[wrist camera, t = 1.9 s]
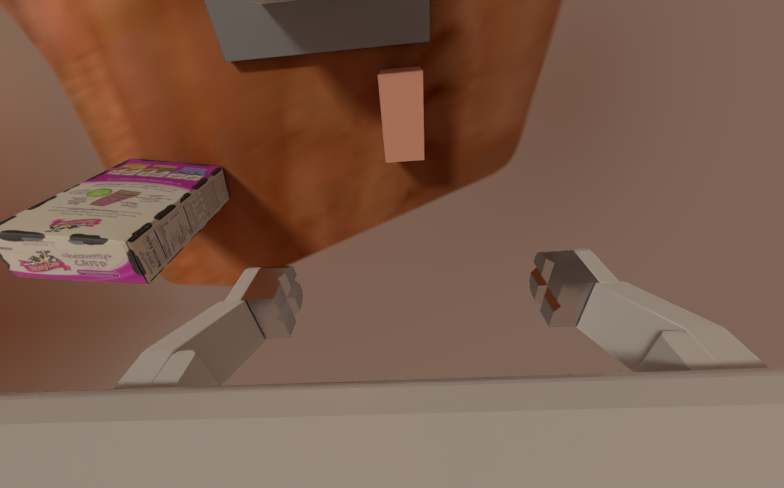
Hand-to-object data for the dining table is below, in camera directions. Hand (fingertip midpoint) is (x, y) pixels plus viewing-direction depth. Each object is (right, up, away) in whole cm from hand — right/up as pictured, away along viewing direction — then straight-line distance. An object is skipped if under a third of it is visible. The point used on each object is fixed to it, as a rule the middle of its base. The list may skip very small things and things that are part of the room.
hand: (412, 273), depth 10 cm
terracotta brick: (0, +16, +22) cm, 27 cm away
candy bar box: (-27, +9, +27) cm, 40 cm away
